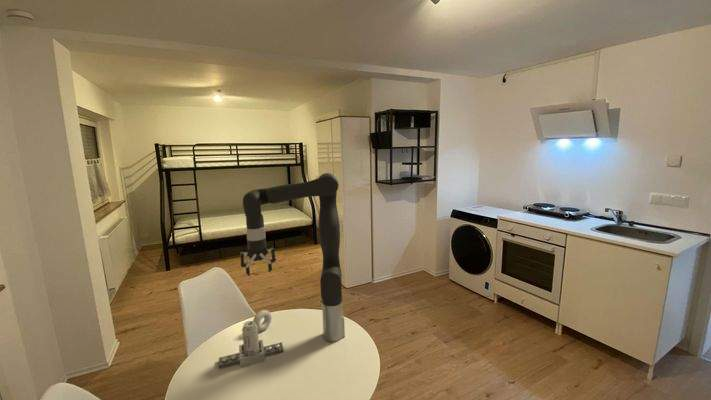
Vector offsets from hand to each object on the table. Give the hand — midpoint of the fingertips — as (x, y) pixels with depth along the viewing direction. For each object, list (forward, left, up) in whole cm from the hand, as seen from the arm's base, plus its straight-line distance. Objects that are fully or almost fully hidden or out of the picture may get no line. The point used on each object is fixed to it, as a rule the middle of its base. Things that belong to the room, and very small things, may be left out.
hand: (259, 273), depth 133 cm
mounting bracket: (+6, +8, -33) cm, 35 cm away
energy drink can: (+6, +8, -33) cm, 35 cm away
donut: (0, -10, -33) cm, 35 cm away
